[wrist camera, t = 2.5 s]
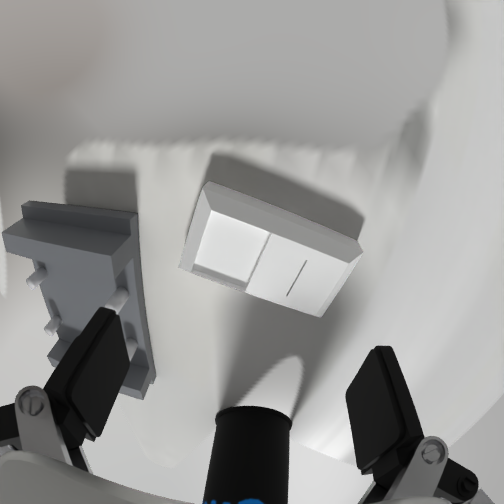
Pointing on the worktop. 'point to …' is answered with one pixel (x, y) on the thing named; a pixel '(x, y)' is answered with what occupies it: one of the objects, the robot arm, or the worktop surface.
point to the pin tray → (87, 276)
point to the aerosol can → (249, 457)
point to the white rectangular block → (267, 251)
